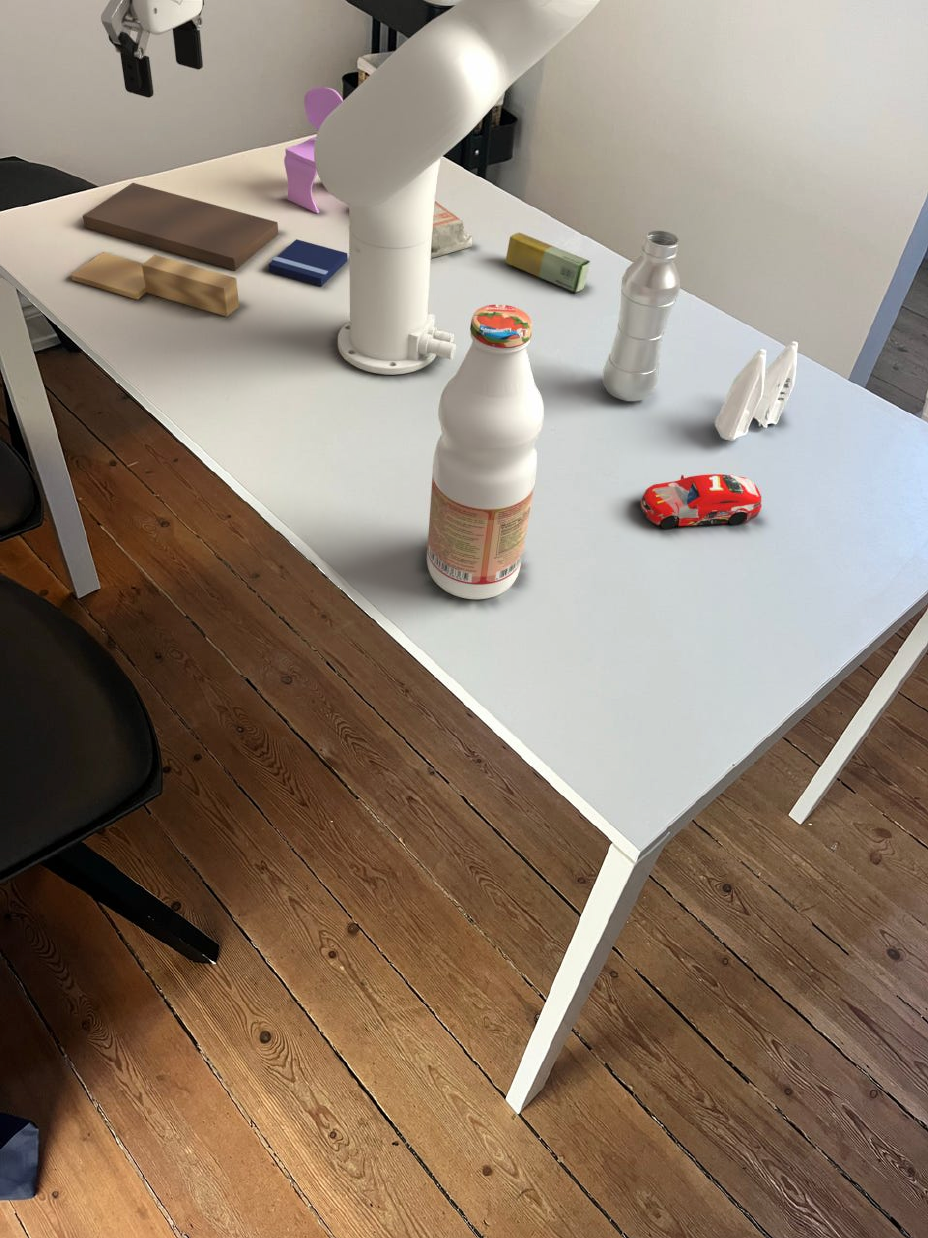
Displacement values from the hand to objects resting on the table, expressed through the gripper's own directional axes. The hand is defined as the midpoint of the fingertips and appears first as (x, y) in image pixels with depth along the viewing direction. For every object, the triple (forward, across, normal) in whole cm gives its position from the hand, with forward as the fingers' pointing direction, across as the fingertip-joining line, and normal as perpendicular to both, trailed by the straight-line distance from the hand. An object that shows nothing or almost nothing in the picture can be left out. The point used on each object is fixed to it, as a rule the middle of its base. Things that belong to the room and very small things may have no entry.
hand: (165, 79), depth 109 cm
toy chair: (+26, +33, -2) cm, 42 cm away
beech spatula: (+26, -1, +4) cm, 27 cm away
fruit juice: (+25, -31, -52) cm, 65 cm away
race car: (+25, -12, -71) cm, 76 cm away
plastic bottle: (+25, +6, -58) cm, 63 cm away
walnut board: (+27, +14, +10) cm, 32 cm away
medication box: (+25, +28, -40) cm, 55 cm away
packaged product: (+26, +31, -18) cm, 44 cm away
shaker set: (+24, +6, -73) cm, 77 cm away
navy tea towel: (+26, +14, -10) cm, 31 cm away
